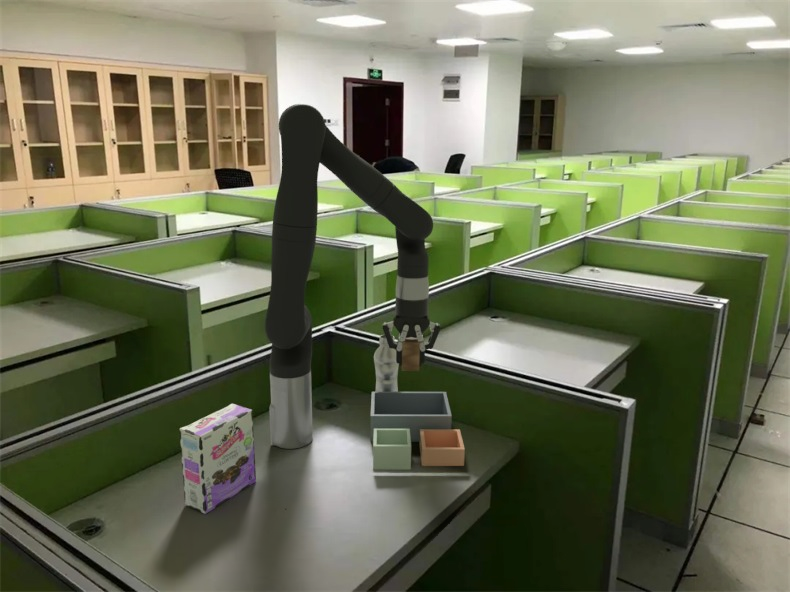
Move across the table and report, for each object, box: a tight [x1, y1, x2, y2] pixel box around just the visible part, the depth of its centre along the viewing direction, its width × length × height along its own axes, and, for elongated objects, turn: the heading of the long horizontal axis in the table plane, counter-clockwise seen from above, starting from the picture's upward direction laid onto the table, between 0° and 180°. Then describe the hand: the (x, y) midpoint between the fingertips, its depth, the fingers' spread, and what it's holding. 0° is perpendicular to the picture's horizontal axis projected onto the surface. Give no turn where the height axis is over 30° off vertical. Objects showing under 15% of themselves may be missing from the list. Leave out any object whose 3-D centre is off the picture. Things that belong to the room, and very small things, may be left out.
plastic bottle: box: [373, 334, 400, 392], centre depth 159 cm, size 6×7×20 cm
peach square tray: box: [419, 428, 466, 467], centre depth 138 cm, size 9×9×4 cm
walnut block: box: [401, 337, 420, 372], centre depth 146 cm, size 4×4×7 cm
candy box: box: [178, 403, 257, 515], centre depth 122 cm, size 14×6×16 cm, turn 148°
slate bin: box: [370, 391, 453, 443], centre depth 150 cm, size 19×14×7 cm
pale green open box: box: [372, 429, 412, 470], centre depth 136 cm, size 8×8×6 cm
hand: (410, 364), depth 147 cm, fingers closed on walnut block, 4 cm apart
